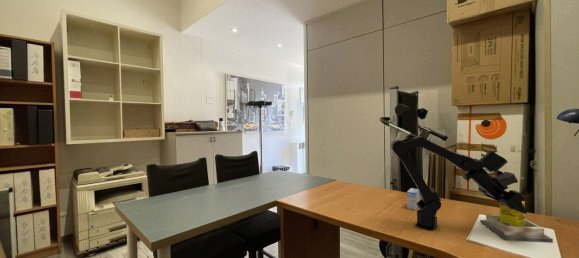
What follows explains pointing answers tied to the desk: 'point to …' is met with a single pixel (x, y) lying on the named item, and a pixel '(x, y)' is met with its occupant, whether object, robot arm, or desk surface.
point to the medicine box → (412, 198)
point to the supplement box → (511, 216)
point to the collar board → (516, 230)
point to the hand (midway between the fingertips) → (516, 208)
